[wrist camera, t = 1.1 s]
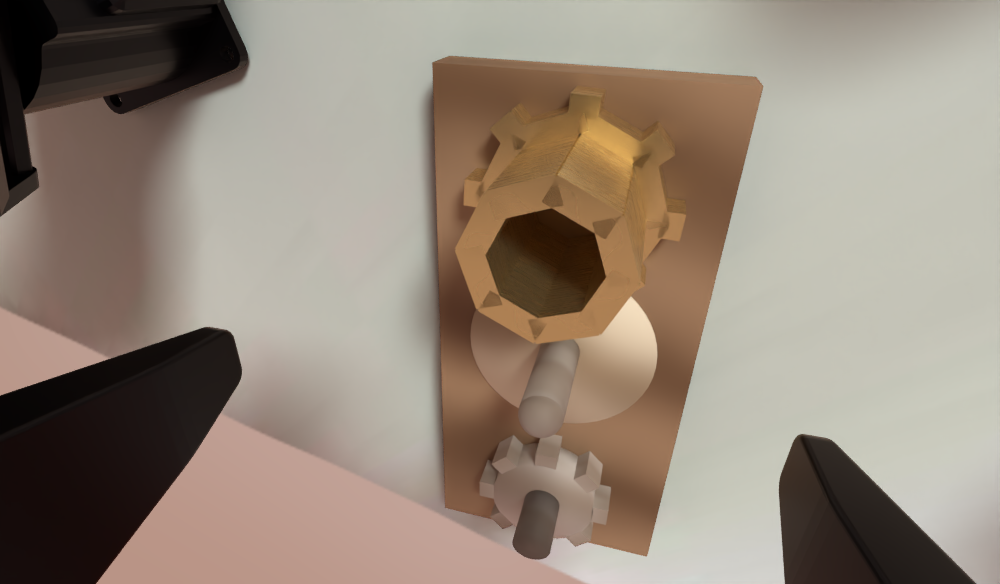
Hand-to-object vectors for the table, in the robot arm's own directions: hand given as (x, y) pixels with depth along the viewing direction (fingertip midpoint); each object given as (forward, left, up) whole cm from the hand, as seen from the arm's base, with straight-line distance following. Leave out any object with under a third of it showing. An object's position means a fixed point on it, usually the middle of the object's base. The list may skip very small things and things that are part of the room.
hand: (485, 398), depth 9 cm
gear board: (-2, -6, -11) cm, 13 cm away
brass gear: (0, 0, -10) cm, 10 cm away
